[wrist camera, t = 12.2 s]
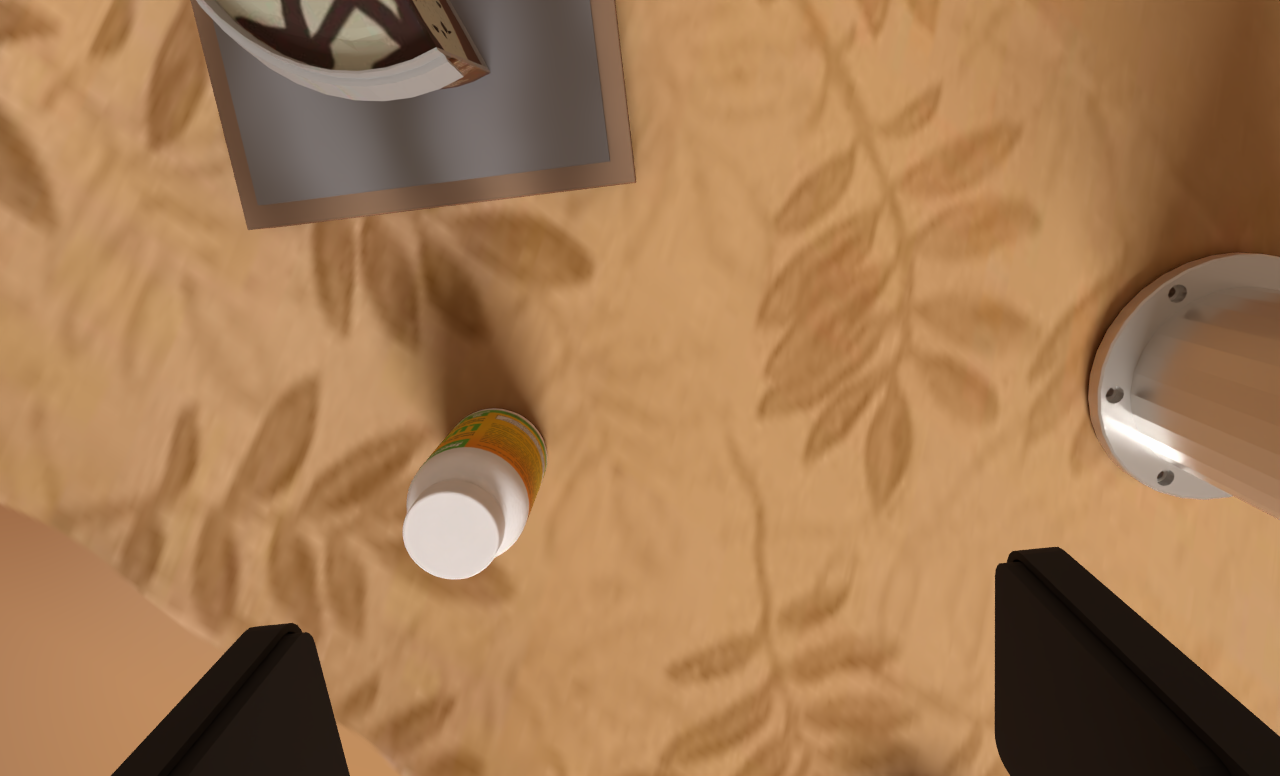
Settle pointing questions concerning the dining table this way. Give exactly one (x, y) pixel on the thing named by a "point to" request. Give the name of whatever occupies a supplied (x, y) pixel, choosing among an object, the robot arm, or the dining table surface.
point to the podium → (433, 122)
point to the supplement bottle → (474, 493)
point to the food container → (355, 44)
